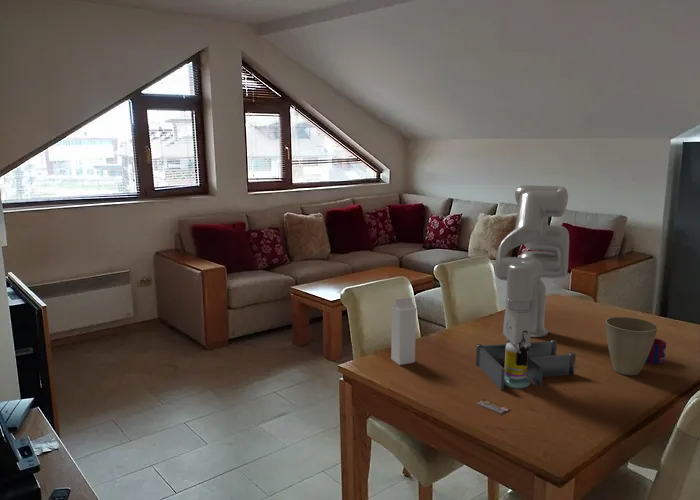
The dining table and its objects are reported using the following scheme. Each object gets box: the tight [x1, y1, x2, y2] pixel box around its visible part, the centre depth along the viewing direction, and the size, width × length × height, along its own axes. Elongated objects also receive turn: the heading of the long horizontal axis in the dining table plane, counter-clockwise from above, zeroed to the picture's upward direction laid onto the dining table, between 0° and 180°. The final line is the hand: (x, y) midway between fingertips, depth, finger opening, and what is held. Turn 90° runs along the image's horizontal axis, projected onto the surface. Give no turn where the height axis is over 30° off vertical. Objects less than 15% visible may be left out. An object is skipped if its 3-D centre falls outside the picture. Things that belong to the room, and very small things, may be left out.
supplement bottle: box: [504, 341, 528, 380], centre depth 178 cm, size 7×7×13 cm
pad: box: [504, 375, 531, 389], centre depth 180 cm, size 9×9×1 cm
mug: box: [645, 337, 667, 365], centre depth 196 cm, size 7×10×7 cm
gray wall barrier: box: [475, 339, 577, 391], centre depth 186 cm, size 20×28×7 cm
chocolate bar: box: [474, 398, 513, 417], centre depth 164 cm, size 11×5×1 cm, turn 40°
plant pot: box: [605, 316, 658, 376], centre depth 186 cm, size 15×15×16 cm
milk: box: [390, 296, 417, 366], centre depth 195 cm, size 6×6×22 cm
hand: (516, 359), depth 178 cm, fingers closed on supplement bottle, 6 cm apart
